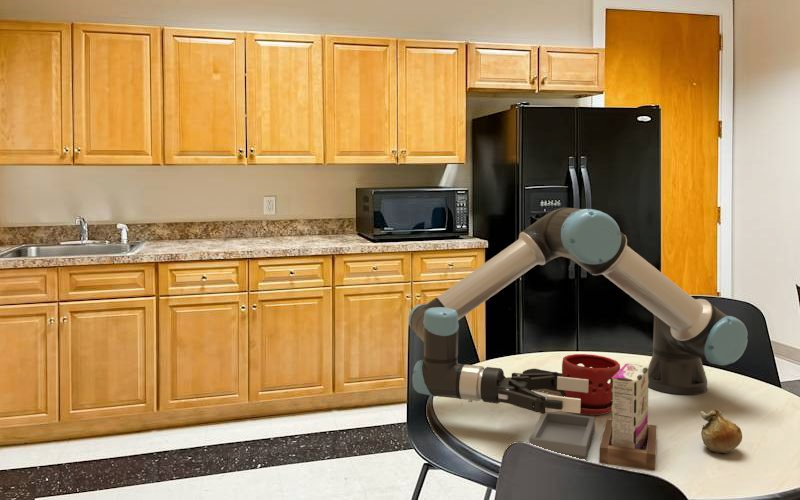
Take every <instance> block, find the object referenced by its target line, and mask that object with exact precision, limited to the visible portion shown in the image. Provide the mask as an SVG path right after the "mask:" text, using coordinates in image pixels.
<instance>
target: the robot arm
mask: <svg viewBox="0 0 800 500" xmlns="http://www.w3.org/2000/svg"><path fill="white" fill-rule="evenodd" d="M560 257H563V258H567V259H570V260H571V261H573V262H574V263H576V264H577V265H578V266H580V267H581V268H582V269H583V270H585V271H586V272H587V273H589V274H590V275H592V276H600V275H603V276H604V277H605V278H606V279H608V280H609V281H610V282H612V283H613V284H614V285H616V286H617V288H619V289H621V290H622V291H623V292H624V293H625V294H627V295H629V297H630V298H632V299H634V301H636V302H637V303H638V304H640V305H641V306H643V308H646V310H648V311H649V312H650V313H652V314H653V334H652V335H653V339H652V340H653V341H652V342H653V343H652V356H651V358H650V359H651V360H650V361H649V364H648V365H647V366H648V367H649V374H648V377H649V378H648V388H650V389H653V390H655V391H658V392H662V393H668V394H674V395H675V394H676V395H699V394H703V393H705V392H707V390H708V379H707V378H708V377H707V375H706V371H705V369H704V365H703V362H702V360H704V361H707V362H709V363H710V364H713V365H719V366H728V365H731V364H734V363H736V361H738V360H739V359H740V358H741V357H742V356H743V354H744V353H745V351H746V348H747V345H748V341H749V339H748V335H749V334H748V330H747V327H746V325H745V323H744V322H742V320H740V319H739V318H737V317H734V316H732V315H727V314H725V313H724V312H722V311H721V310H719V309H718V308H717V307H716V306H715V305H713V304H712V303H711V302H709V301H708V300H707V299H704V298H697V299H696V298H694V297H692V295H690V294H689V293H687V292H686V291H685V290H684V289H683V288H681V287H680V286H679V285H677V283H675V282H674V281H672V280H671V279H670V278H669V277H668V276H667V275H666V274H664V273H662V272H661V271H660V270H658V269H657V268H656V267H655V266H654V265H653V264H651V263H650V262H648V261H647V260H646V259H645V258H644V257H642V256H641V255H640V254H639V253H637V252H635V250H633V249H632V248H631V247H630V246H628V239H627V236H626V234H624V233H623V232H621V229H620V226H619V224H618V223H617V222H616V220H615V219H614V218H613V217H611V216H610V215H609V214H608V213H605V212H603V211H601V210H597V209H593V208H573V207H561V208H556V209H554V210H553V211H551V212H548V213H547V214H545V215H544V216H542V217H541V218H539V219H538V220H536V221H535V222H534V223H532V224H531V225H529V226H527V228H526V229H523V230H522V231H520V233H519V235H518V239H516V240H515V241H514V242H513V243H511V244H510V245H508V246H507V247H506V248H504V249H503V250H501V251H500V252H499V253H497V254H496V255H494V256H493V257H492V258H490V259H488V260H487V261H486V262H485V263H483V264H482V265H480V266H479V267H478V268H476V269H474V270H473V271H471V273H469V274H468V275H466V276H465V277H463V278H462V279H460V280H459V281H458V282H456V283H455V284H453V285H451V286H450V287H449V288H447V290H445V291H444V292H443V293H442V292H441V294H439V295H438V296H437V297H435V298H433V299H432V300H431V301H429V302H427V303H422V304H421V303H420V304H417V305H415V306H414V307H413V308H412V309H411V311H410V312H409V314H408V325H409V326H410V329H411V331H412V332H413V333H414V334H415V336H417V337H419V338H420V339H421V341H422V342H423V359H420V360H417V361H416V363H415V365H414V367H413V374H412V381H411V382H412V387H413V389H414V391H416V392H417V393H418V394H423V395H426V396H432V397H435V398H436V397H439V398H440V397H441V398H448V399H449V398H451V399H458V400H465V401H466V400H467V402H469V403H473V402H480V401H482V402H484V403H487V404H488V403H489V404H498V405H499V404H500V403H504V404H509V405H512V406H515V407H519V408H521V409H524V410H527V411H530V412H531V411H532V412H533V413H540V414H541V415H542V414H545V411H546V410H550V411H555V412H556V411H558V412H563V413H565V412H566V413H571V414H572V413H573V414H580V411H581V399H578V398H569V397H563V396H561V395H553V394H546V396H545V395H543V394H540V393H538V392H536V391H537V390H538V389H547V388H556V387H557V389H558V390H567V391H576V392H585V393H588V385H589V380H588V379H579V378H569V377H560V376H558V373H559V372H557V371H553V372H554V373H524V374H522V373H523V372H522V373H519V372H518V373H517V372H512V373H511V376H510V377H506V376H505V372H504V369H503V368H500V367H491V366H487V367H484V366H482V365H473V364H463V363H462V364H461V363H458V358H459V356H458V355H459V328H460V324H459V321H460V320H461V319H462V318H464V317H465V316H466V315H467V314H469V313H471V312H472V311H473V310H475V309H476V308H478V307H480V305H482V304H483V303H485V302H486V301H488V300H490V298H491V297H493V296H495V295H497V294H498V293H499V292H500V291H501V290H503V289H504V288H506V287H508V286H509V285H510V284H512V283H513V282H514V281H516V280H517V279H518V278H520V277H522V275H525V274H526V273H527V272H528V271H530V270H531V269H532V268H534V267H535V266H537V265H540V266H544V265H546V264H547V263H548V262H550V261H552V260H554V259H556V258H560ZM534 391H535V392H534Z"/></svg>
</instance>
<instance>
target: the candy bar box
mask: <svg viewBox="0 0 800 500" xmlns="http://www.w3.org/2000/svg"><path fill="white" fill-rule="evenodd" d="M648 366H649V365H640V364H636V363H635V364H633V363H625V364H624V365H623V366H622V367H620V370H619V371H618V372H617V373H616V374H615V375H614V376H613V377H612V410H611V420H612V430H611V446H617V447H621V441H623V442H630V443H634V449H639V450H645V449H644V448H646V446H647V442H648V441H647V432H648V424H649V419H648V418H649V387H648V378H649V377H648V374H649V367H648Z"/></svg>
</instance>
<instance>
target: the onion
mask: <svg viewBox="0 0 800 500" xmlns="http://www.w3.org/2000/svg"><path fill="white" fill-rule="evenodd" d="M699 415H700V417H701V418H702V419H703V420H704V421H706V423H705V424H704V425H702V428H701V433H700V434H701V439H702V442H703V444H704V446H705V447H706V448H708V449H709V450H710V451H712V452H714V453H718V454H719V453H721V454H722V453H724V454H729V453H732V451H734V450H735V449H736V448H737V447H739V445H740V444H741V443H742V440H743V432H742V430H741V428H740V426H739V425H737V424H736V423H734V422H732V421H731V420H729V419H727V418H725V417H723V415H722V412H721V410H718V409H715V410H713V409H712V410H711V411H710V412H708V413H706V412H705V411H703V410H701V411H700V412H699Z"/></svg>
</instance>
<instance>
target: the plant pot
mask: <svg viewBox="0 0 800 500" xmlns="http://www.w3.org/2000/svg"><path fill="white" fill-rule="evenodd" d="M561 363H562V364H561V373H562V377H569V378H579V379H588V380H589V385H588V393H585V392H576V391H567V390H565V393H566V395H567V396H565V397H569V398H578V399H581V411H580V413H579V415H584V416H597V415H598V416H600V415H605V414H608V413H610V412H612V377H613V376H614V375H615V374H616V373H617V372H618V371H619V370H620V369H621V365H620V362H618V361H617V360H616V359H613V358H611V357H607V356H603V355H602V356H601V355H596V354H590V353H589V354H588V353H574V354H568V355H565V356H563V358H562V362H561ZM580 364H582V365H583V366H582V365H580ZM609 380H610V382H609V383H608V381H609Z"/></svg>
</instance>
